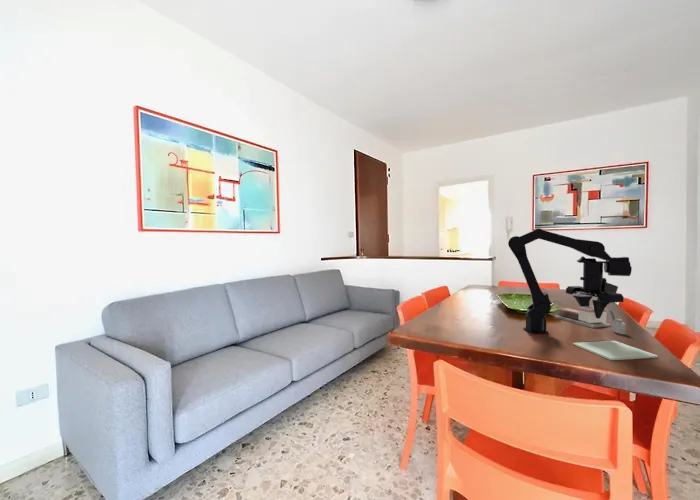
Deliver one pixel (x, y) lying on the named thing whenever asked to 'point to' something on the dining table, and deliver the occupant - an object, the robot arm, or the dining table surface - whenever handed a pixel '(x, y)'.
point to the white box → (590, 314)
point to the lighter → (616, 323)
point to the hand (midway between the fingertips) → (592, 316)
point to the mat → (614, 350)
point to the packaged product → (576, 318)
